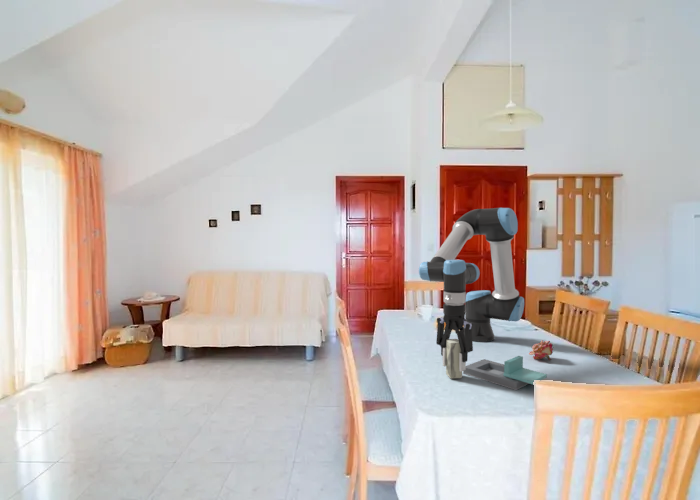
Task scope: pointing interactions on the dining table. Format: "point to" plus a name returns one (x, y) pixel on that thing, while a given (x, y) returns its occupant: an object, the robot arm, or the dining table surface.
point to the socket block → (492, 374)
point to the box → (453, 358)
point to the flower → (542, 350)
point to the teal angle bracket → (521, 371)
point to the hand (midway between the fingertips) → (453, 367)
